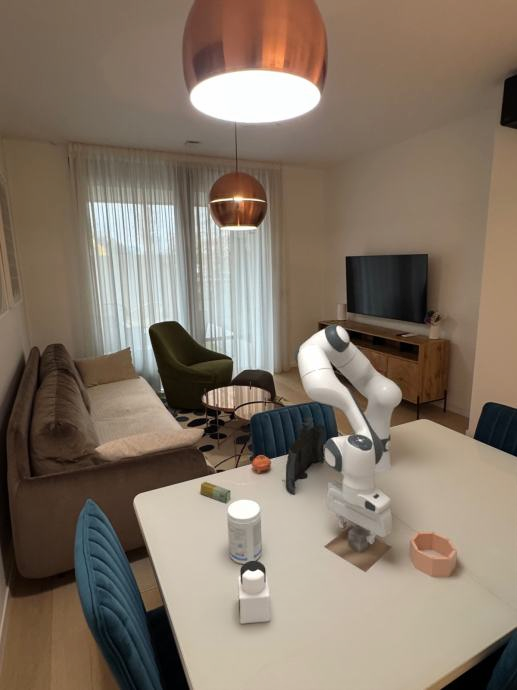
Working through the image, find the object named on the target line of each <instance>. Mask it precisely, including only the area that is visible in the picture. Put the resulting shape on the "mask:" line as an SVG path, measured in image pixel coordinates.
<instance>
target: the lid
mask: <svg viewBox="0 0 517 690" xmlns="http://www.w3.org/2000/svg"><path fill="white" fill-rule="evenodd" d="M369 535H370V534H369V530H367V529H365V528H363V527H361V526H359V525H358V524H356V525H350V526H348V527H347V528H346V529H344V530H343V531H341V533H340V534H338V535H337V536H336V537H334V538H333V539H332V540H330V541H329V542H327V544H326V545H323V548H325V549H327V550H328V551H330V552H331V553H333V554H334V555H337V556H338V557H340V558H341V559H342V560H345V561H346V562H348V563H349V564H351V565H352V566H355V567H356V568H357V569H359V570H361V571H363V573H366V572H367V571H368V570H369V569H371V567H372V566H373V565H375V564H376V563H377V562H379V560H380V559H381V558H382V557H383V556H384V555H385V554H386V553H387V552H388V551H389V550H390V549H391V548H392V546H390V545H389V544H387V543H386V542H383V541H381V540H380V539H378V538H376V537H375V538H374V543H373V544H370V543H368V542H367V536H369Z"/></svg>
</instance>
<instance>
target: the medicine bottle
mask: <svg viewBox="0 0 517 690" xmlns="http://www.w3.org/2000/svg"><path fill="white" fill-rule="evenodd" d="M266 572H267V569H266V566H265V565H264V564H263V563H262V562H260V561H257V560H256V561H249V562H247V563H245V564H243V565H241V568H240V575H238V577H237V581H238V582H237V583H238V584H237V585H238V587H237V588H238V613H239V614H238V615H239V624H241V625H242V624H252V623H253V624H255V623H265V622H270V620H271V609H270V608H271V607H270V603H271V601H270V599H271V597H270V591H269V590H270V589H269V582H268V575H267V573H266Z"/></svg>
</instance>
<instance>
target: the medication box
mask: <svg viewBox="0 0 517 690" xmlns="http://www.w3.org/2000/svg"><path fill="white" fill-rule="evenodd" d="M231 492H232V491H231V490H230V489H227V488H225V487H222V486H219V485H216V484H213V483H210V482H207V481H203V482H202V483H201V484H200V495H203V496H205V497H208V498H210V499H214V500H216V501H219V502H221V503H224V504H228V503H229V502H230V501H231Z"/></svg>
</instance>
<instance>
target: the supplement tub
mask: <svg viewBox="0 0 517 690" xmlns="http://www.w3.org/2000/svg"><path fill="white" fill-rule="evenodd" d="M226 515H227V533H228V536H227V537H228V552H229V556H230V558H231V560H233V561H234V562H236V563H237V564H243V565H244V564H245V563H247V562H249V561H257V560H258V559H259V558H260V557H261V555H262V551H263V550H262V549H263V545H262V544H263V543H262V519H261V518H262V515H261V508H260V505H259V504H258V503H257V502H256V501H254V500H250V499H239V500H236V501H233V502H232V503H230V505H229V506H228V507H227V514H226Z"/></svg>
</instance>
